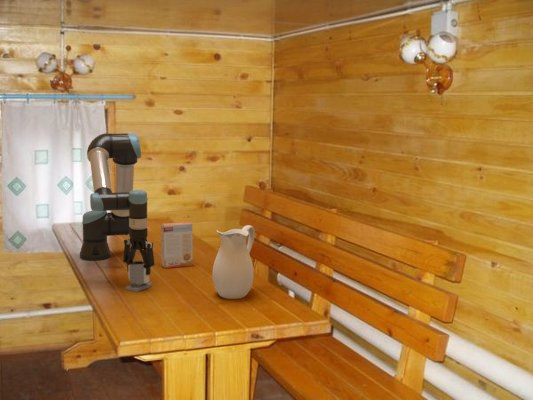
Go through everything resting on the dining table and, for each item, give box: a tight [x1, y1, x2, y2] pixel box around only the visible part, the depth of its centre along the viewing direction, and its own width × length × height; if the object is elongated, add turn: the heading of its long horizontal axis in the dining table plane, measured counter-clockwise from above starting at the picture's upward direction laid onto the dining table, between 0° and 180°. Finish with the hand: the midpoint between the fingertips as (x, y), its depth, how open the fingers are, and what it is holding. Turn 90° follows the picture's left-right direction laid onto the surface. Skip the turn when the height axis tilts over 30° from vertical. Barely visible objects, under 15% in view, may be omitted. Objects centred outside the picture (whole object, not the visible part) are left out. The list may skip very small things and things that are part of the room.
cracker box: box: [160, 221, 194, 269], centre depth 304 cm, size 14×6×21 cm, turn 113°
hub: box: [129, 259, 145, 284], centre depth 269 cm, size 7×7×8 cm
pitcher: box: [212, 224, 256, 300], centre depth 264 cm, size 24×17×28 cm
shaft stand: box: [125, 282, 153, 293], centre depth 269 cm, size 6×10×8 cm, turn 152°
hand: (138, 280), depth 270 cm, fingers closed on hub, 7 cm apart
